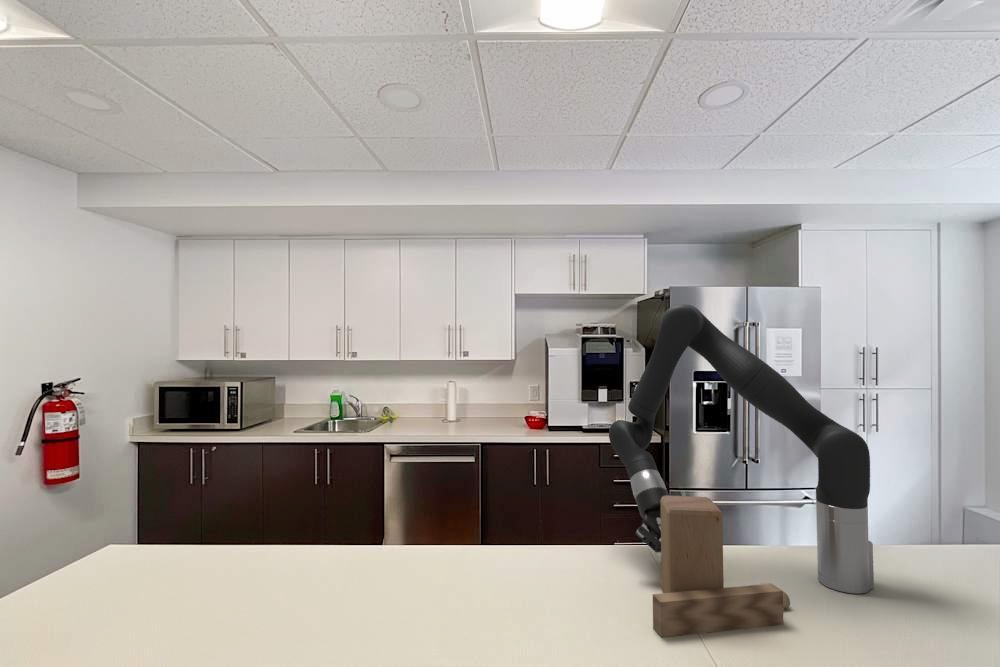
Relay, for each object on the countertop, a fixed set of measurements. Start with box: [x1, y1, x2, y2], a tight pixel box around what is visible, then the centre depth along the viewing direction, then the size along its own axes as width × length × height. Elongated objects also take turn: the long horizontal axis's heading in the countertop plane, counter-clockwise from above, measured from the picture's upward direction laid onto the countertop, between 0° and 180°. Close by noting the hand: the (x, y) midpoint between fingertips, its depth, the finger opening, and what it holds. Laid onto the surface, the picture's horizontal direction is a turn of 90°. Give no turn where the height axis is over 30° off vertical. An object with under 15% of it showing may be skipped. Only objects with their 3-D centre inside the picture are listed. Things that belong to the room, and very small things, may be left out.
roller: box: [782, 590, 791, 610], centre depth 100 cm, size 10×3×3 cm
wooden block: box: [660, 495, 725, 593], centre depth 102 cm, size 10×10×20 cm
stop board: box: [652, 583, 785, 638], centre depth 93 cm, size 24×3×6 cm, turn 100°
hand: (678, 570), depth 107 cm, fingers closed
